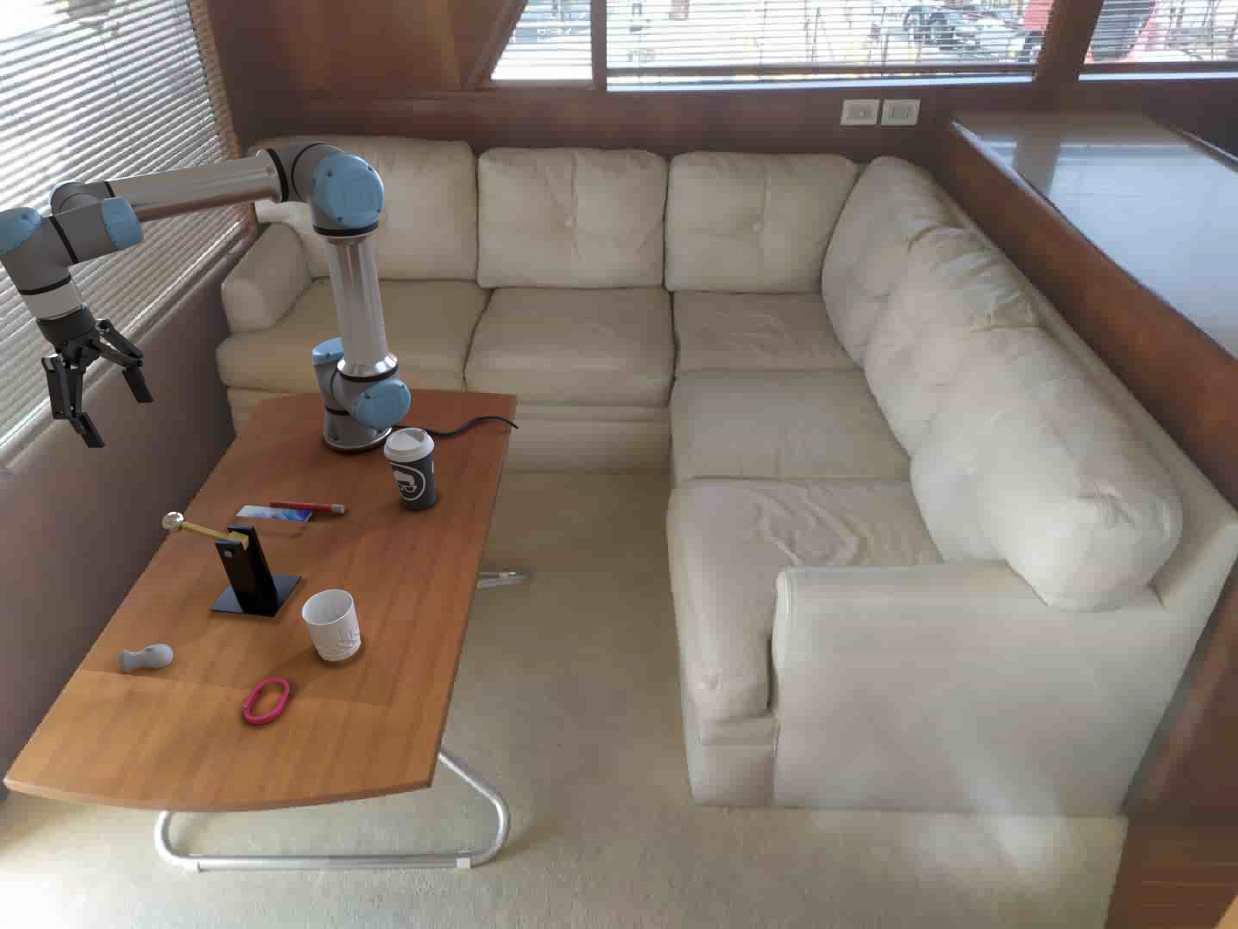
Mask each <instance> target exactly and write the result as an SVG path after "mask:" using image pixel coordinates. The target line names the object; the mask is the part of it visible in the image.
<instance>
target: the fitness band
mask: <svg viewBox="0 0 1238 929" xmlns="http://www.w3.org/2000/svg"><path fill="white" fill-rule="evenodd" d="M274 682H275V683H276V682H278V683H281V684H283V686H284V692H283V694H282V696H281V697H280V699H279V700H278V702H277V703H276V705H275V707H274V708H273V709H272V710H271V711H270V712H268V713H266V714H264V715H261V716H252V715H251V714H250V713H251V709H252V707H253V706H254V704H255V702H256V701H257V700H258V699H259V697H260V695H261V694H262V692H263V691H262V690H261V688H263V687H264V686H266V685H267V684H270V683H274ZM289 692H290V684H289V682H288V681H287V680H286V679H284V678H282V677H271V678H267V679H265V680H263V681H261V682H260V683H258V684H257V685H256V686H255V687H254V688H253V689H252V691H251V692H250V693H249V695H248V696H247V698H246V699H245V701H244V703H243V704H242V709H243V715H244V718H245V720H246V721H247V722H248V723H250V724H253V725H263V724H266V723H269V722H271V721H273V720H275V719H276V718H277V717H279V715H280V714H281V713H282V711H283V710H284V708H285V707H286V705H287V704H288V702H289V700H290V698H291V696H292V693H289Z"/></svg>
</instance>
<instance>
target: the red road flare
mask: <svg viewBox="0 0 1238 929" xmlns="http://www.w3.org/2000/svg"><path fill="white" fill-rule="evenodd" d="M269 507H271V508H285V509H300V510H311V511H312V512H317V513H318V512H319V513H332V514H344V512H345V505H344V504H335V503H334V504H330V503H315V502H302V501H301V502H300V501H285V500H273V499H272V500H270V501H269Z"/></svg>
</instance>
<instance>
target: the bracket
mask: <svg viewBox="0 0 1238 929" xmlns="http://www.w3.org/2000/svg"><path fill="white" fill-rule="evenodd" d="M226 528H227V531H228V533H229V535H230V534H231V533H232V531H234V532H238V533H241V534H244V535H247V536H249V546H248V547H247V548H246V550H245V549H244V546H243V544H242V541H232V540H221V539H217V540H215V541H214V546H215V548H216V550H217V553H218V556H219V558H220V560H221V561H220V562H221V563H222V566H223V569H224V571H225V573H226V576H227V578H228V581H229V584H228V585H227V587H225V589H224V590H223V592H222V593H221V594H220V596H219V597H218V598H217V600H216V601H215V602H214V604H212V606H211V607H210V608H209V611H211V612H220V613H221V612H222V613H231V614H240V615H250V616H258V617H259V616H260V617H269V618H275V617H276V616H277V615H278V613H279V611H280V610H281V608H282V607H283V605H284V604H285V602H286V601H287V600H288V598H289V597H290V595H291V594H292V592H293V591H294V590H295V588H296V586H297V585H298V583H299V582H300V580H301V579H302V576H300V575H290V574H280V573H271V569H270V567H269V564H268V562H267V559H266V556H265V553H264V550H263V548H262V545H261V542H260V539H259V537H258V534H257V530H256V528H255V525H245V524H244V525H243V524H234V523H229V525H228V526H227V527H226Z"/></svg>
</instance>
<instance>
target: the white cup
mask: <svg viewBox="0 0 1238 929" xmlns="http://www.w3.org/2000/svg"><path fill="white" fill-rule="evenodd" d="M301 617H302V620H303V622H304V624H305V626H306V629H307V632H308V634H309V636H310V639H311V641H312V644H313V645H314V648H315V649H316V651H317V654H318V655H319V656H320V657H321V658H322V659H323V660H324V661H329V662H340V661H343V660H346V659H348V658H350V657H352V656H353V655H354V654H355V653H356V652H357V651H358V650H359V648H360V646H361V644H362V640H361V634H360V633H361V632H360V628H359V627H360V624H359V621H358V616H357V612H356V608H355V603H354V599H353V597H352V595H351V593H349V592H348V591H345V590H343V589H333V588H332V589H326V590H323V591H320V592H318V593H316V594H314V595H312V596H311V597H310V598H308V599H307V600H306V602H305V603H304V604H303V606H302V608H301Z"/></svg>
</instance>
